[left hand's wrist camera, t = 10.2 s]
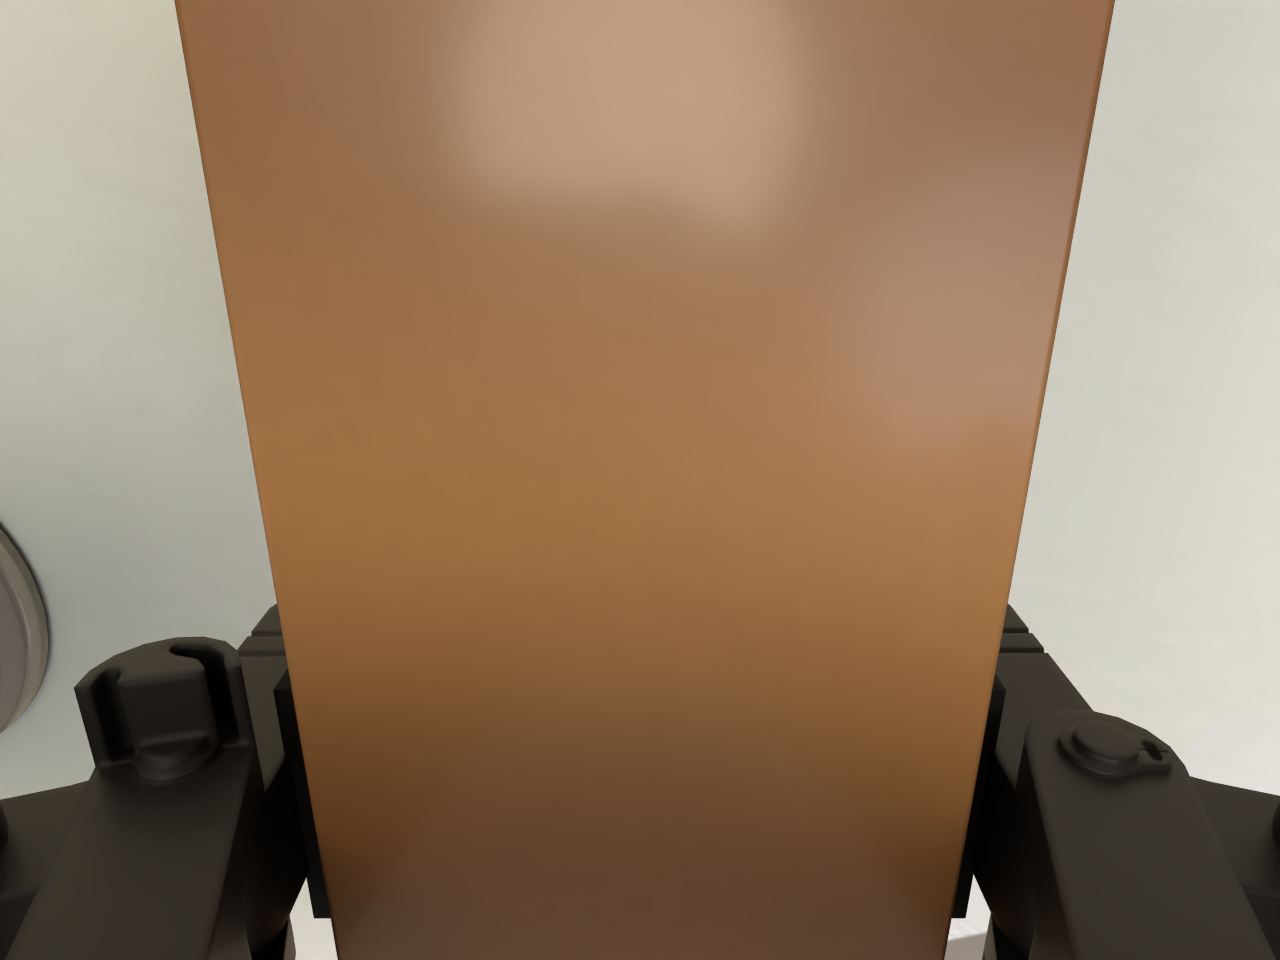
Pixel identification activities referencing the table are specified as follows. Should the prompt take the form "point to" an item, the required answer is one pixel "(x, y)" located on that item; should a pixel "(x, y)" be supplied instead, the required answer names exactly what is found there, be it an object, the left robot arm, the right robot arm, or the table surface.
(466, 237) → the bar
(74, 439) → the table surface
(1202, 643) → the table surface
